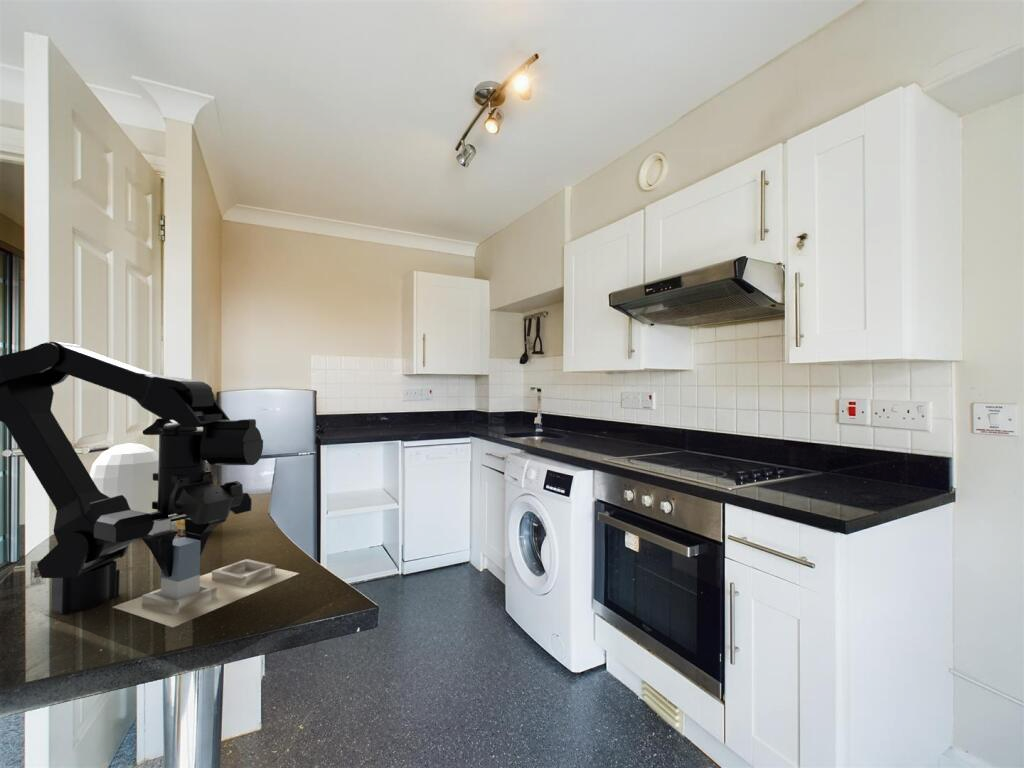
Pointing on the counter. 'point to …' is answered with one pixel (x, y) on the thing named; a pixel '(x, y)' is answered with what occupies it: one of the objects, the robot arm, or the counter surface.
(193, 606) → the socket dock
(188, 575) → the plug
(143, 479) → the container
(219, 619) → the counter surface
